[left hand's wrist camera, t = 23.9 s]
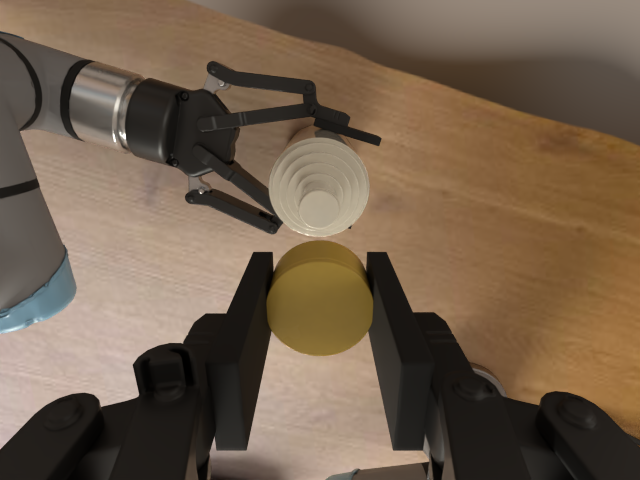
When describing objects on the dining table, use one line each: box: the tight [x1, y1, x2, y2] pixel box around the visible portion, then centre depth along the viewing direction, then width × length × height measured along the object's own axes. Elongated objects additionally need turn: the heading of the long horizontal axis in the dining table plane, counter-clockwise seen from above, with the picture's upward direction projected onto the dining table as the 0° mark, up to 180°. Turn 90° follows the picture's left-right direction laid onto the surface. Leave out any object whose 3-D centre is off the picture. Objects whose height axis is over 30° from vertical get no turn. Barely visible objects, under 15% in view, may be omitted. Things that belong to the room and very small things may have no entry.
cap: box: [266, 241, 373, 356], centre depth 14 cm, size 4×4×2 cm
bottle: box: [269, 125, 370, 237], centre depth 33 cm, size 8×8×21 cm
